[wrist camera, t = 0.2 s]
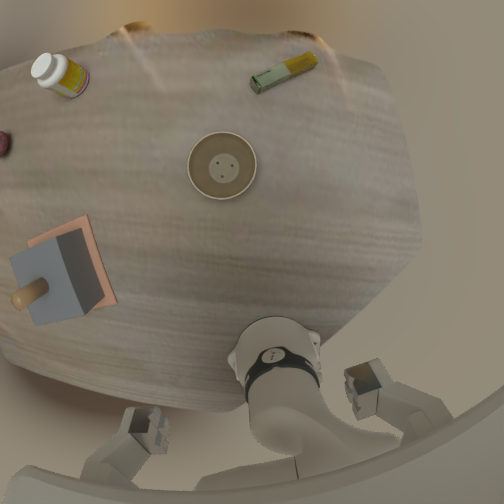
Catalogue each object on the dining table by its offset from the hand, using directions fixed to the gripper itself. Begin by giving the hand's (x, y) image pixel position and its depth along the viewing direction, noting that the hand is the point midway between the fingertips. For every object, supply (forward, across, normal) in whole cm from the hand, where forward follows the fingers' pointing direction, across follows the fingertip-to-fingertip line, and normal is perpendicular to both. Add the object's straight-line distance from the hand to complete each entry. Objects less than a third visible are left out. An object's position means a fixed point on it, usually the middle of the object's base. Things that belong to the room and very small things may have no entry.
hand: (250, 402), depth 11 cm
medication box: (+43, +13, +22) cm, 50 cm away
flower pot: (+41, 0, +7) cm, 41 cm away
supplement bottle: (+43, -25, +34) cm, 60 cm away
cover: (+38, -36, -2) cm, 53 cm away
